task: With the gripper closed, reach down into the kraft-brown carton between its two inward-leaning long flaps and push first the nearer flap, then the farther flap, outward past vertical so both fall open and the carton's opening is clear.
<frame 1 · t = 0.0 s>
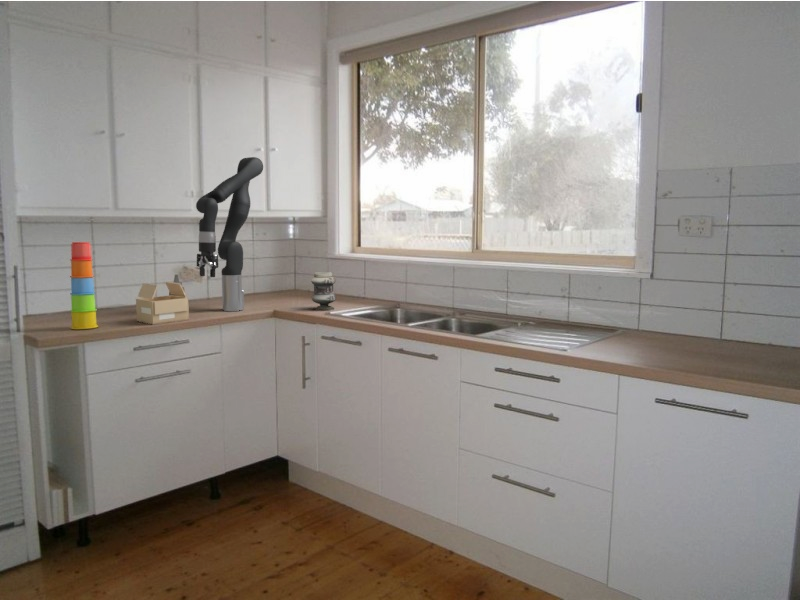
hand: (207, 276, 296), 17 cm above the countertop, tool pointing down, fingers open, 8 cm apart
flap 1: (147, 291, 270), point 13 cm above the countertop, hinge at -25.0°
apothecary jar: (324, 309, 313), on the countertop
carton: (163, 320, 277), on the countertop
squeeze bottle: (177, 313, 300), on the countertop
flap 2: (175, 288, 280), point 13 cm above the countertop, hinge at -25.0°
stacking cups: (84, 328, 258), on the countertop
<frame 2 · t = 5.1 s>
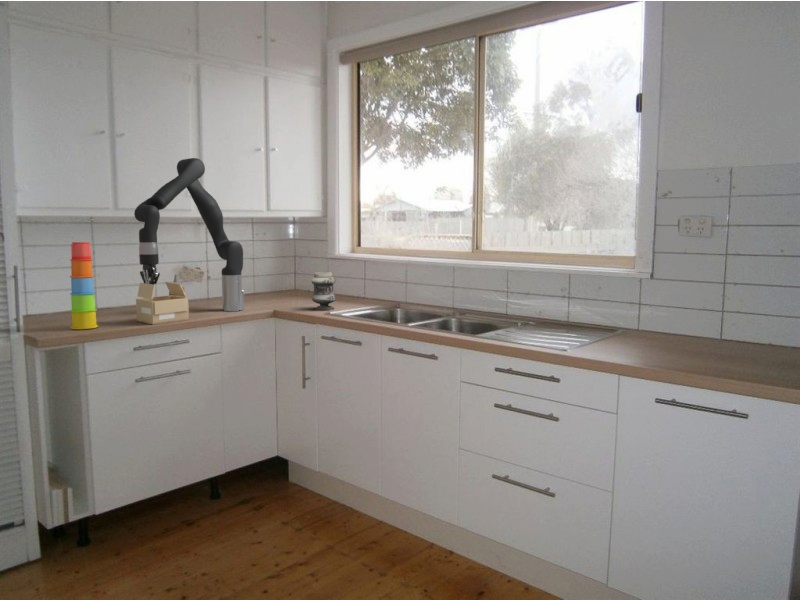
hand: (150, 293, 271), 12 cm above the countertop, tool pointing down, fingers closed
flap 1: (146, 290, 270), point 14 cm above the countertop, hinge at -13.8°, touching gripper, hand
everything else where it was.
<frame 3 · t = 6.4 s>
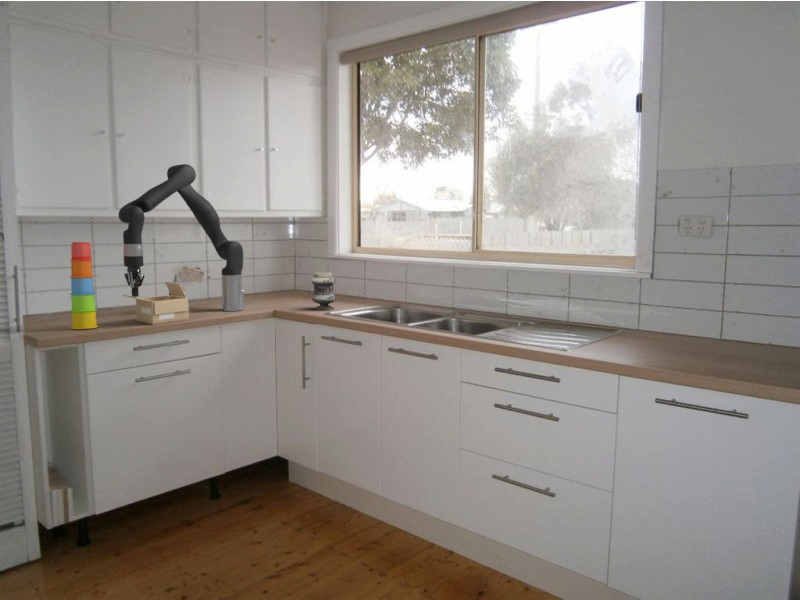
hand: (135, 296, 266), 12 cm above the countertop, tool pointing down, fingers closed
flap 1: (136, 297, 267), point 11 cm above the countertop, hinge at 73.1°
everything else where it was.
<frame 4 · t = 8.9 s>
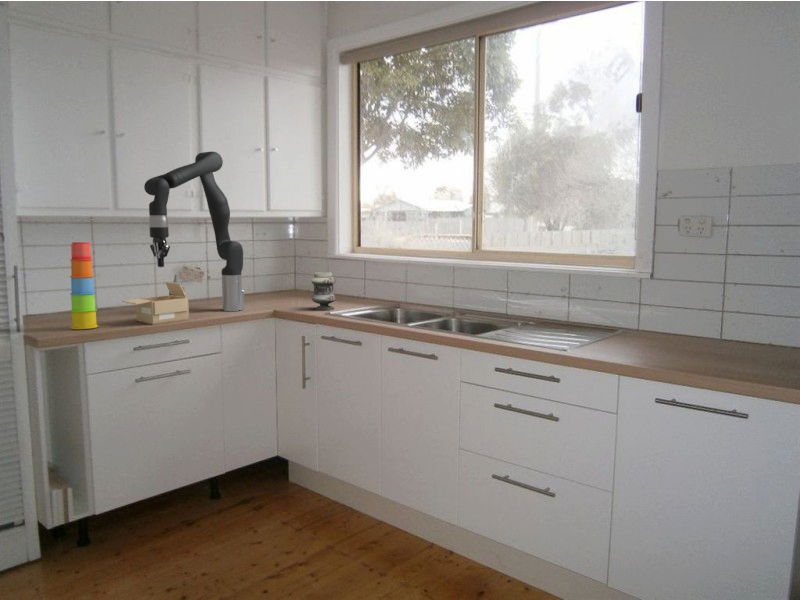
hand: (160, 266, 274), 23 cm above the countertop, tool pointing down, fingers closed
flap 1: (135, 301, 267), point 10 cm above the countertop, hinge at 95.2°
everything else where it was.
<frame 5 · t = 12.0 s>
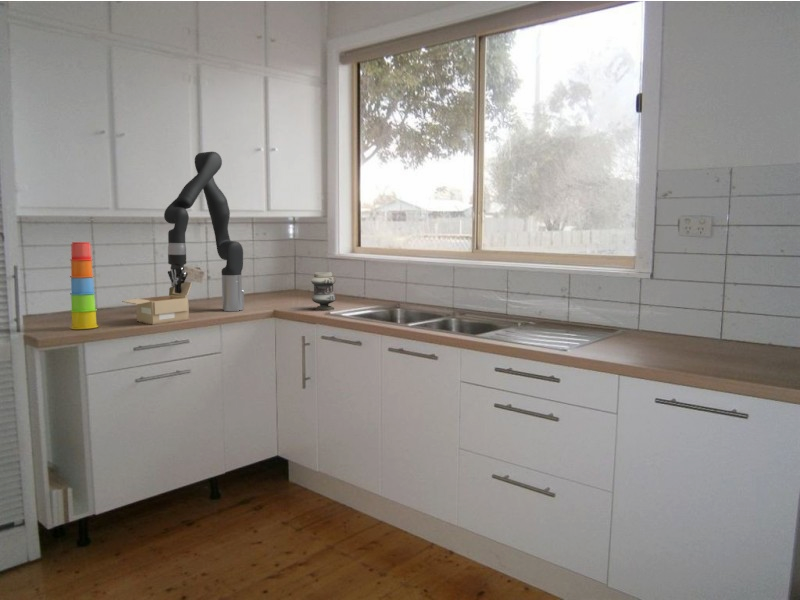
hand: (177, 292, 281), 11 cm above the countertop, tool pointing down, fingers closed
flap 2: (182, 288, 282), point 13 cm above the countertop, hinge at 24.7°, touching gripper
everything else where it was.
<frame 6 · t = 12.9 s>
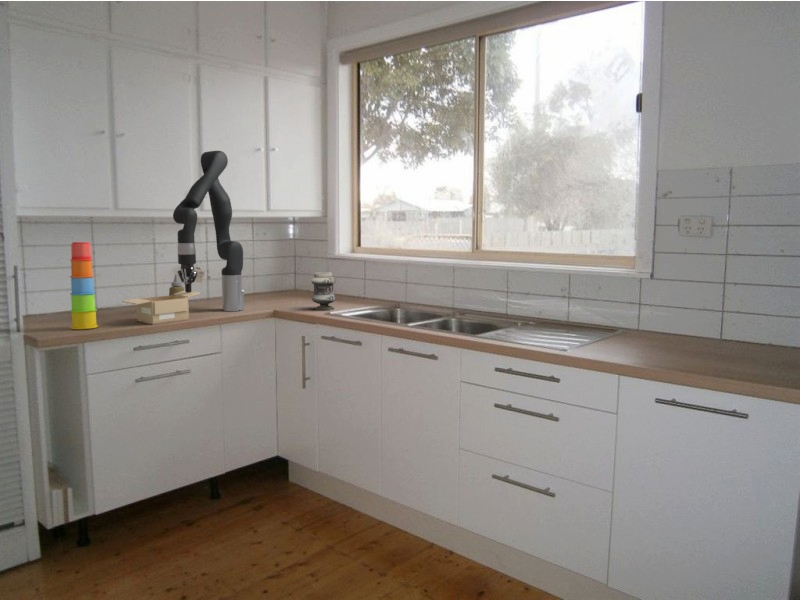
hand: (188, 292, 285), 11 cm above the countertop, tool pointing down, fingers closed
flap 2: (186, 293, 284), point 11 cm above the countertop, hinge at 78.7°
everything else where it was.
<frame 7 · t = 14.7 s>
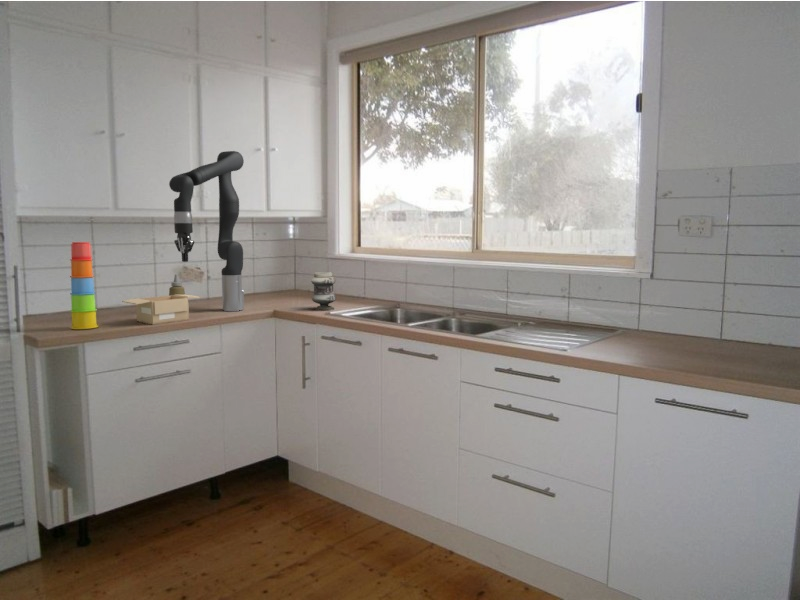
hand: (185, 261, 282), 25 cm above the countertop, tool pointing down, fingers closed
flap 2: (186, 296, 284), point 10 cm above the countertop, hinge at 95.2°
everything else where it was.
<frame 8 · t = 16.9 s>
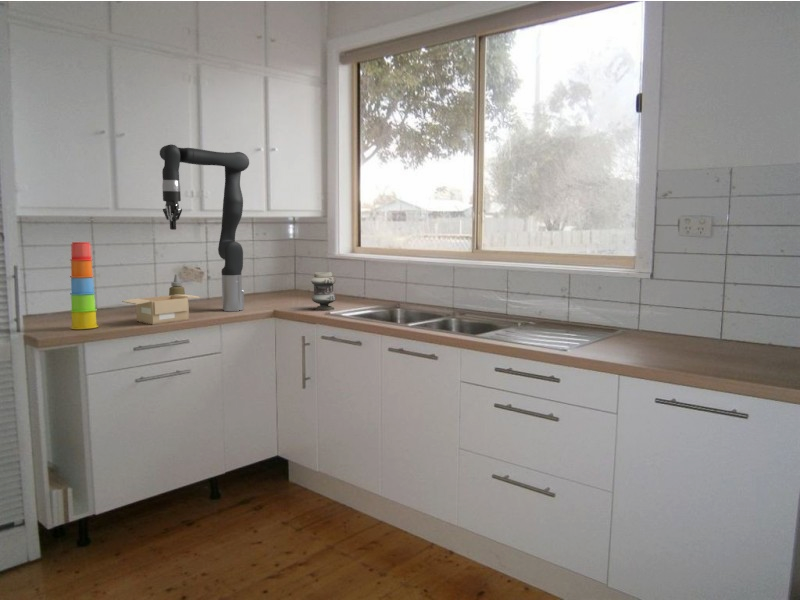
hand: (173, 229, 288), 39 cm above the countertop, tool pointing down, fingers closed
nothing on the countertop moved.
at the end: flap 1 at +95° (first picture: -25°); flap 2 at +95° (first picture: -25°) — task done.
